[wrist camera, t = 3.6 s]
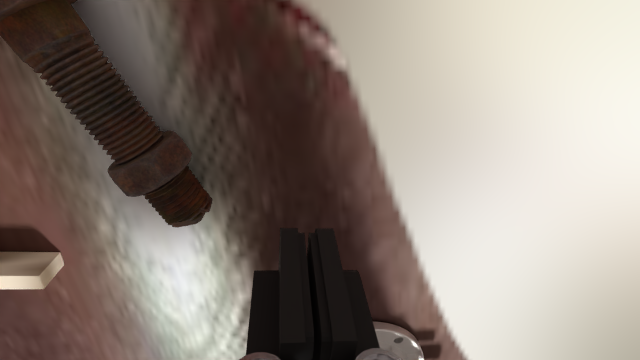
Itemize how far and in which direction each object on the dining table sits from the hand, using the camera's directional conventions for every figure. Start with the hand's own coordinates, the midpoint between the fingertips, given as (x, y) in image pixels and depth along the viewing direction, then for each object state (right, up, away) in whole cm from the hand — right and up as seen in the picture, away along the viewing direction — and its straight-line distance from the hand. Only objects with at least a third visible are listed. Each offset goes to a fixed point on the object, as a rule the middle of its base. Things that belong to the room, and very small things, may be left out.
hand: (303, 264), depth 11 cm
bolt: (-11, +7, +10) cm, 17 cm away
